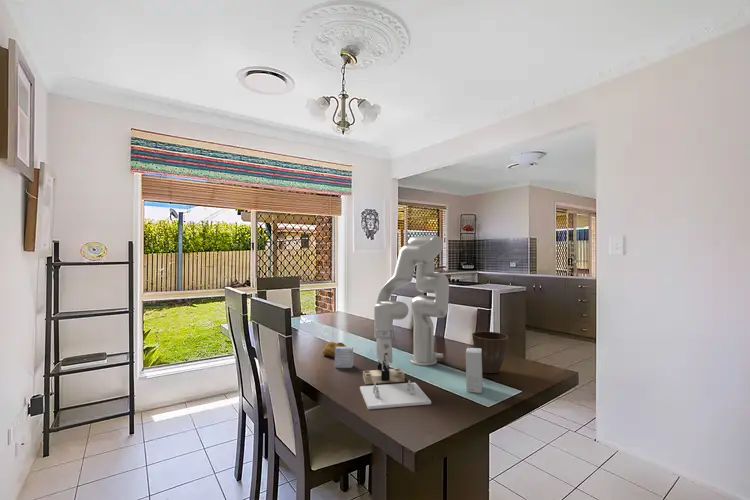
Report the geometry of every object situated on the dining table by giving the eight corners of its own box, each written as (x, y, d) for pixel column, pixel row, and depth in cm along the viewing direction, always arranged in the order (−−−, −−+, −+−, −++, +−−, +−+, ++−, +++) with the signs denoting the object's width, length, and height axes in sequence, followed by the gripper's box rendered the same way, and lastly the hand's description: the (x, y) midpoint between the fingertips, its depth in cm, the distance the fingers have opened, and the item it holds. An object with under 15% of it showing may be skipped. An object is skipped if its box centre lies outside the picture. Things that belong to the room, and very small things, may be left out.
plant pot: (490, 364, 166) (490, 330, 166) (515, 374, 153) (515, 336, 153) (465, 369, 160) (465, 333, 160) (489, 379, 146) (489, 340, 146)
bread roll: (319, 357, 178) (319, 340, 178) (329, 352, 187) (329, 336, 187) (341, 360, 173) (341, 343, 173) (350, 355, 182) (351, 339, 182)
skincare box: (482, 393, 132) (482, 353, 132) (465, 391, 133) (465, 352, 133) (482, 385, 140) (482, 347, 140) (466, 384, 141) (466, 346, 141)
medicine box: (353, 365, 165) (353, 346, 165) (351, 368, 160) (351, 349, 160) (336, 364, 165) (336, 346, 166) (334, 368, 161) (334, 348, 161)
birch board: (400, 375, 151) (400, 368, 151) (404, 381, 144) (404, 374, 144) (362, 378, 148) (362, 370, 148) (365, 384, 141) (365, 376, 141)
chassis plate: (415, 385, 140) (415, 373, 140) (431, 404, 123) (431, 390, 123) (359, 389, 136) (359, 377, 136) (368, 409, 118) (368, 395, 118)
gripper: (397, 338, 138) (397, 384, 138) (387, 328, 155) (387, 369, 155) (378, 339, 137) (378, 385, 137) (370, 329, 154) (370, 370, 154)
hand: (383, 376), depth 146 cm, fingers closed on birch board, 7 cm apart
